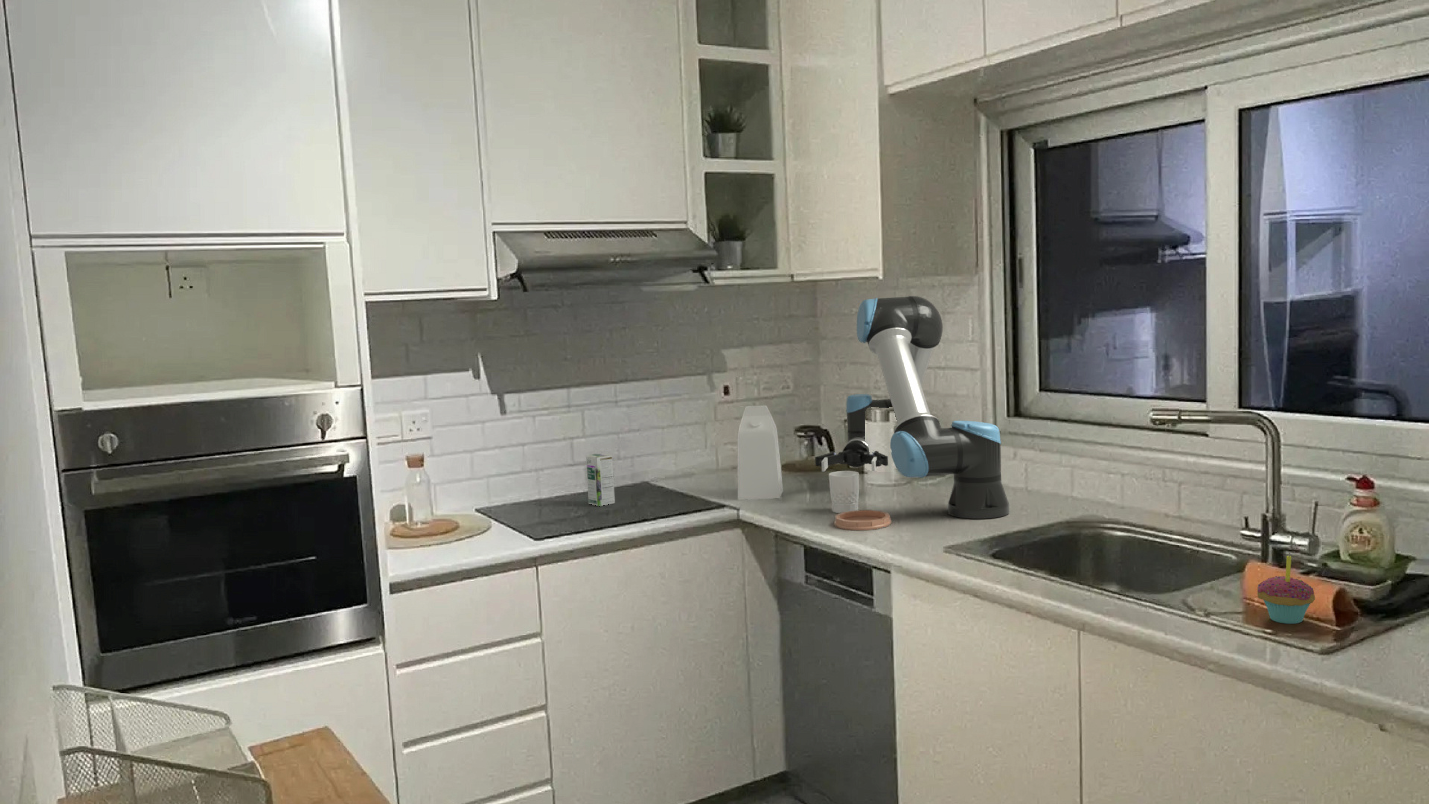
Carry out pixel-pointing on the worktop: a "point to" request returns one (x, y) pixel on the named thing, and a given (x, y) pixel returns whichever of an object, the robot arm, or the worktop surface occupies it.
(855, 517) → the saucer
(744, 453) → the milk
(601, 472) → the syrup box
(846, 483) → the white cup
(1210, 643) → the worktop surface
